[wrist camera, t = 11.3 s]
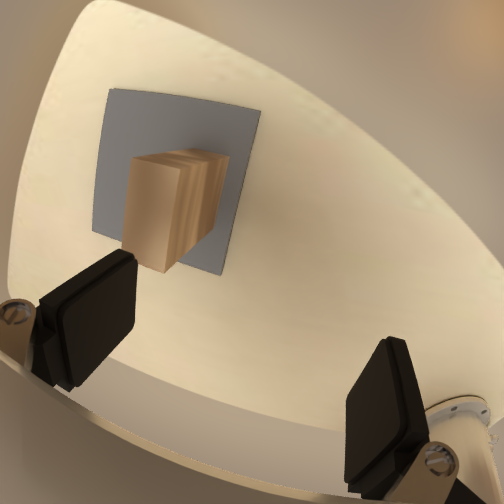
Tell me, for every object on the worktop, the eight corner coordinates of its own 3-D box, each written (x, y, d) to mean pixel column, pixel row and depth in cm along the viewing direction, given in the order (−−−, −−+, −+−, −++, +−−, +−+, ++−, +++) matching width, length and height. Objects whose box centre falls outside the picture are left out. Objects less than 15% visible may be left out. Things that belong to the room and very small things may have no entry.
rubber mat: (260, 111, 22) (260, 111, 21) (221, 274, 27) (220, 275, 27) (111, 89, 23) (109, 88, 23) (94, 229, 29) (91, 230, 28)
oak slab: (229, 156, 23) (180, 169, 15) (213, 228, 26) (164, 273, 17) (193, 147, 24) (130, 157, 15) (180, 218, 26) (120, 257, 18)
